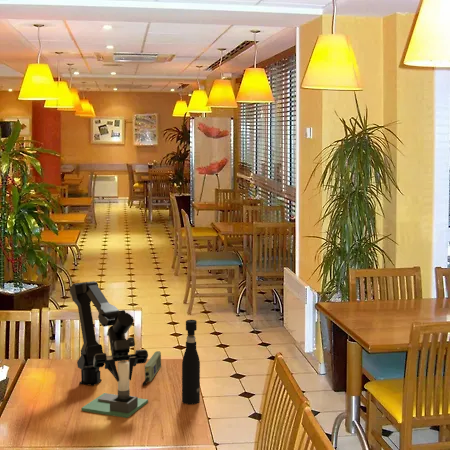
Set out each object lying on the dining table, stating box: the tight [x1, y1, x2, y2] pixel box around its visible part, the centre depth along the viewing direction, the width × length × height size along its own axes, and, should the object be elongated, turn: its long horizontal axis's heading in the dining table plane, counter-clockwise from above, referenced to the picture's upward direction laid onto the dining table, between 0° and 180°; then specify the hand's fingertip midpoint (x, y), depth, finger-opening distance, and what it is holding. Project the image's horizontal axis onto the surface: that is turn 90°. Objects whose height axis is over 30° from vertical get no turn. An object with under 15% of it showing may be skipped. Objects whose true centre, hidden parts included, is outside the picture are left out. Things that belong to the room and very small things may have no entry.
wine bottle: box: [181, 319, 201, 406], centre depth 275 cm, size 6×6×30 cm
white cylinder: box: [117, 360, 131, 400], centre depth 266 cm, size 4×4×12 cm
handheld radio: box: [142, 350, 162, 386], centre depth 304 cm, size 7×3×25 cm
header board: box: [80, 392, 149, 419], centre depth 271 cm, size 18×16×4 cm
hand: (124, 380), depth 264 cm, fingers closed on white cylinder, 4 cm apart
